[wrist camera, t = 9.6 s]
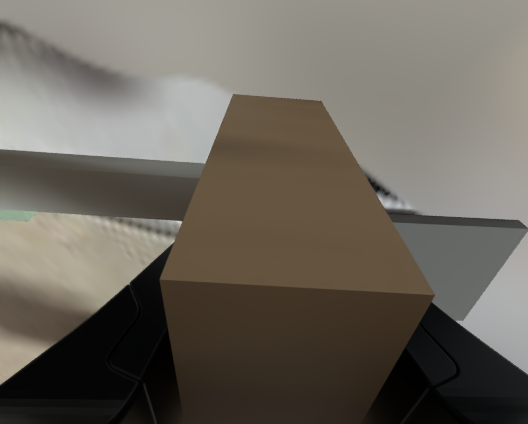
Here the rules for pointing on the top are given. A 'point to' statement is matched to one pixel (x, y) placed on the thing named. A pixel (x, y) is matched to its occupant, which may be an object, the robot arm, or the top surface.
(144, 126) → the top surface
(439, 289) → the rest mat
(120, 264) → the top surface
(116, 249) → the top surface
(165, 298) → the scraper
